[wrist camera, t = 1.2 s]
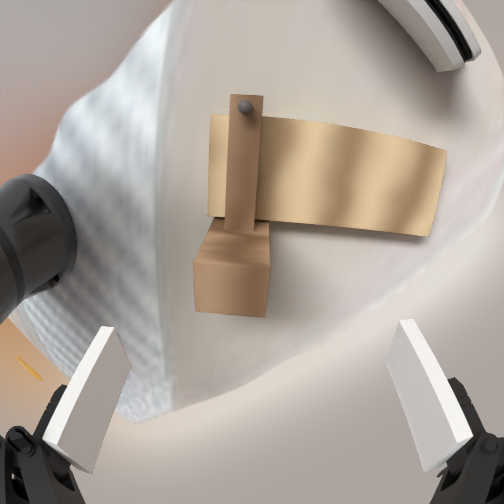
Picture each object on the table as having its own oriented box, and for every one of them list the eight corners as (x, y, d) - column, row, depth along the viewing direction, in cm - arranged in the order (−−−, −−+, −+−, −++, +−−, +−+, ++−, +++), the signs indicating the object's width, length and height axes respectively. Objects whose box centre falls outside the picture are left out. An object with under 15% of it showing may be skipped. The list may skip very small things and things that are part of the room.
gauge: (216, 250, 29) (195, 311, 20) (221, 97, 23) (195, 85, 14) (265, 254, 29) (264, 317, 20) (278, 100, 23) (286, 88, 14)
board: (211, 209, 27) (207, 216, 26) (214, 114, 23) (210, 114, 22) (420, 229, 27) (428, 236, 25) (436, 147, 23) (447, 150, 21)
